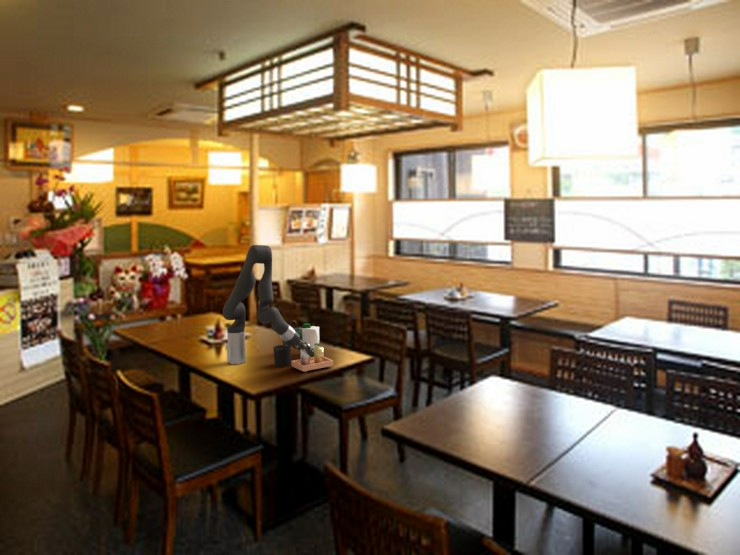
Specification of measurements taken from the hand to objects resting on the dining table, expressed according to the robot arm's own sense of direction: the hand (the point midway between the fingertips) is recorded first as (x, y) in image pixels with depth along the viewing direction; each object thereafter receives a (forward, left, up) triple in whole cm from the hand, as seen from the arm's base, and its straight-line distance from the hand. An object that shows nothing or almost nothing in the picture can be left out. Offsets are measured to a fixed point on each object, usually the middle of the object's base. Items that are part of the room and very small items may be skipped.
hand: (307, 353), depth 283 cm
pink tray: (+2, 0, -8) cm, 8 cm away
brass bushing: (+6, 0, -6) cm, 9 cm away
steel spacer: (-2, 0, -6) cm, 6 cm away
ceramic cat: (+9, +31, -8) cm, 33 cm away
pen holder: (-8, +15, -8) cm, 19 cm away
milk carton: (+10, +16, -8) cm, 21 cm away
